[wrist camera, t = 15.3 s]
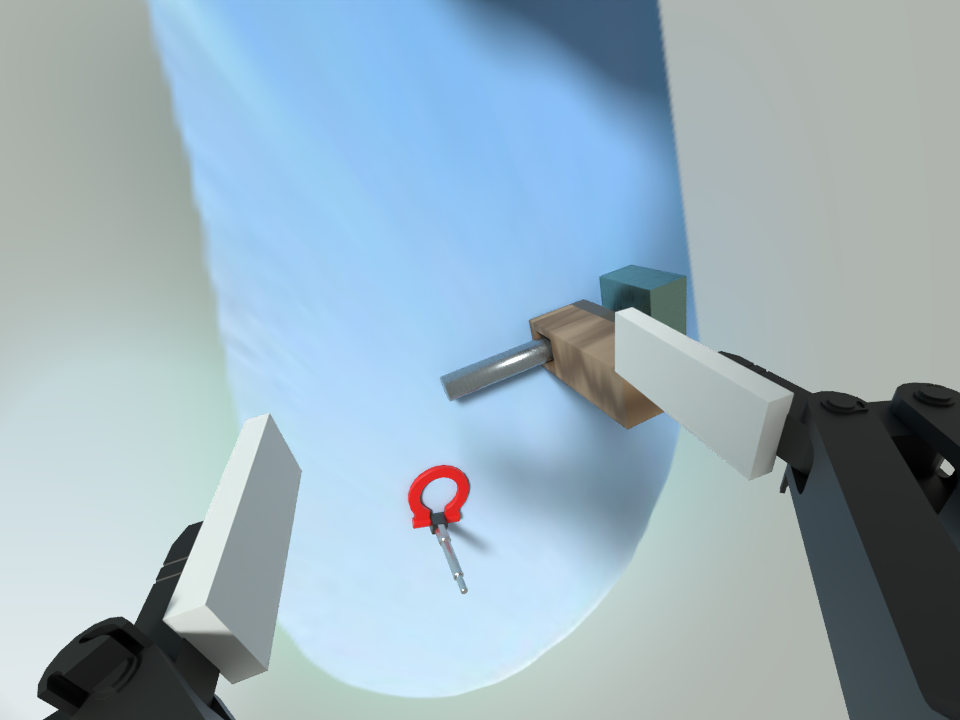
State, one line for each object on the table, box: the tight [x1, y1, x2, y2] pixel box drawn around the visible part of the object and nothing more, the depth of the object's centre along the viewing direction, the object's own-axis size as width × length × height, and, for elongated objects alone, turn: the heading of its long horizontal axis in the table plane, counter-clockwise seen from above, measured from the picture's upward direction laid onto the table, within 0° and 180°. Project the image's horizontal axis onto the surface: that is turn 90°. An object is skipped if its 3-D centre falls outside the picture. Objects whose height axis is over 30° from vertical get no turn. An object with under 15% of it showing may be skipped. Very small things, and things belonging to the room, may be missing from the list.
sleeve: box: [529, 304, 664, 429], centre depth 43 cm, size 6×6×18 cm
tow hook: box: [408, 465, 469, 594], centre depth 48 cm, size 8×13×9 cm
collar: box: [571, 299, 615, 323], centre depth 49 cm, size 6×2×6 cm, turn 14°
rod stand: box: [440, 265, 686, 401], centre depth 47 cm, size 10×29×9 cm, turn 104°
